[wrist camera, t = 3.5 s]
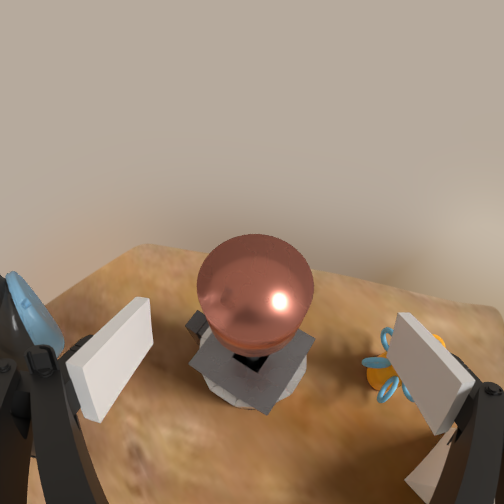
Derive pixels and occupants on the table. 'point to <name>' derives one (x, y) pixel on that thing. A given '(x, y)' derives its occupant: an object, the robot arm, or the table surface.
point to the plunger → (255, 294)
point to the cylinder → (386, 371)
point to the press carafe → (240, 375)
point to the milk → (430, 469)
